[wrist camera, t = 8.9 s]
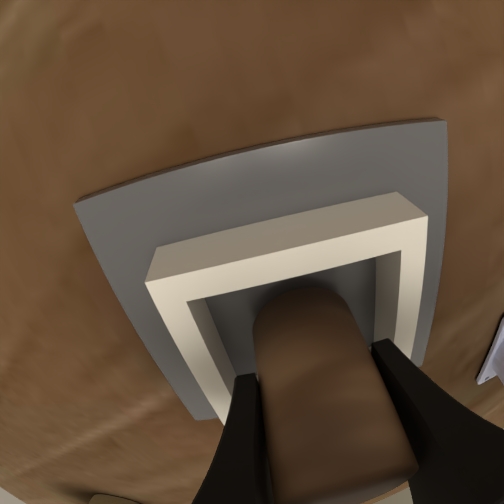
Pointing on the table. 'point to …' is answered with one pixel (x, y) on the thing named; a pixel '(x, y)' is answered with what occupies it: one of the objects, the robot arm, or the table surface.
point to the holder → (275, 246)
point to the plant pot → (109, 500)
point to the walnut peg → (325, 404)
